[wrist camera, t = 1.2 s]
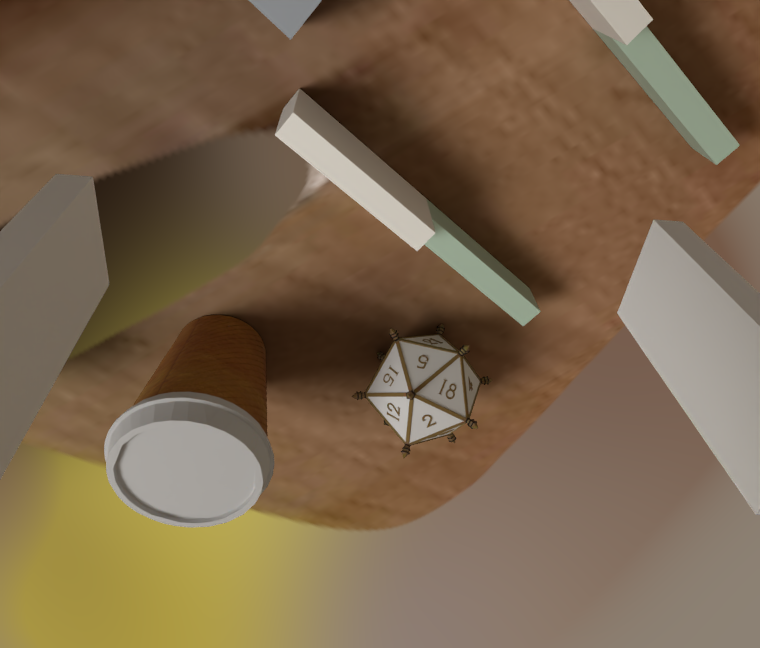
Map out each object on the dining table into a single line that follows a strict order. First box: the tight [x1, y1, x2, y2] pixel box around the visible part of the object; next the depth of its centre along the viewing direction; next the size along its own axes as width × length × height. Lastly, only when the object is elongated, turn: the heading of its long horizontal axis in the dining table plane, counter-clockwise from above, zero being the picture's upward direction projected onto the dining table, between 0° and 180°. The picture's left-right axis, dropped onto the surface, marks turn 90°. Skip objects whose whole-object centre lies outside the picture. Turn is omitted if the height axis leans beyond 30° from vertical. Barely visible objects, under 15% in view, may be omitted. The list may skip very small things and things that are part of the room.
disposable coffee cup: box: [104, 315, 274, 527], centre depth 40 cm, size 10×10×12 cm
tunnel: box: [275, 0, 740, 326], centre depth 34 cm, size 20×16×5 cm
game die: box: [352, 324, 492, 458], centre depth 42 cm, size 9×8×10 cm
